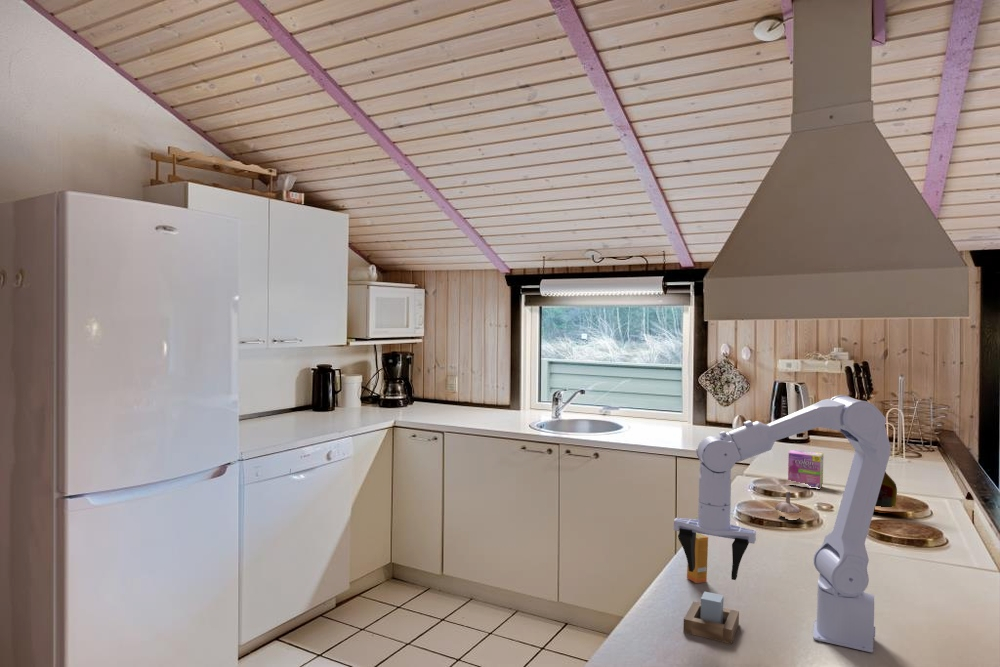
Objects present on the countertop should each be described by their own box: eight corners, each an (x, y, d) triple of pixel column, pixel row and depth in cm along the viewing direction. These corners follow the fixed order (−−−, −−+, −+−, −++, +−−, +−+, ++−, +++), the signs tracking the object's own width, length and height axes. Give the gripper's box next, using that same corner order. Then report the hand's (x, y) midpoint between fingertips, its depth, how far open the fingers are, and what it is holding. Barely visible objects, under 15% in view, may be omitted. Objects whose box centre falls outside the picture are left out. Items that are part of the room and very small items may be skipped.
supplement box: (708, 581, 143) (709, 537, 143) (696, 584, 142) (697, 538, 142) (698, 576, 146) (699, 532, 146) (685, 578, 145) (687, 534, 145)
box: (787, 485, 227) (788, 452, 227) (790, 482, 232) (791, 449, 231) (820, 490, 221) (821, 456, 221) (822, 487, 226) (823, 453, 225)
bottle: (897, 513, 196) (899, 447, 196) (894, 518, 191) (896, 450, 191) (853, 505, 204) (855, 442, 203) (848, 510, 199) (850, 445, 198)
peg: (722, 626, 123) (723, 595, 123) (719, 634, 120) (720, 602, 119) (703, 622, 124) (704, 591, 124) (700, 630, 121) (701, 598, 121)
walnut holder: (738, 624, 124) (739, 611, 124) (731, 643, 116) (731, 630, 116) (693, 613, 128) (693, 601, 128) (683, 632, 120) (683, 618, 120)
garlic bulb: (775, 513, 194) (776, 487, 194) (802, 517, 191) (803, 490, 191) (774, 520, 188) (774, 493, 187) (802, 524, 184) (802, 496, 184)
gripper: (758, 502, 121) (756, 574, 122) (680, 491, 128) (678, 559, 129) (753, 512, 115) (751, 587, 116) (671, 500, 122) (670, 571, 122)
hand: (712, 573), depth 122 cm, fingers open, 7 cm apart
